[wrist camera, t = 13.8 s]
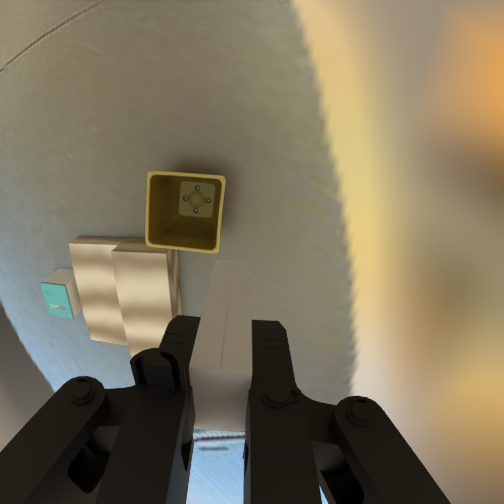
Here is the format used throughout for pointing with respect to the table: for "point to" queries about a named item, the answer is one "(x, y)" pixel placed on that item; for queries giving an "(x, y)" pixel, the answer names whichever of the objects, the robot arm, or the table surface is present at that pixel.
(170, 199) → the flower pot
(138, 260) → the beech steps
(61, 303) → the cream block
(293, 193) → the table surface
